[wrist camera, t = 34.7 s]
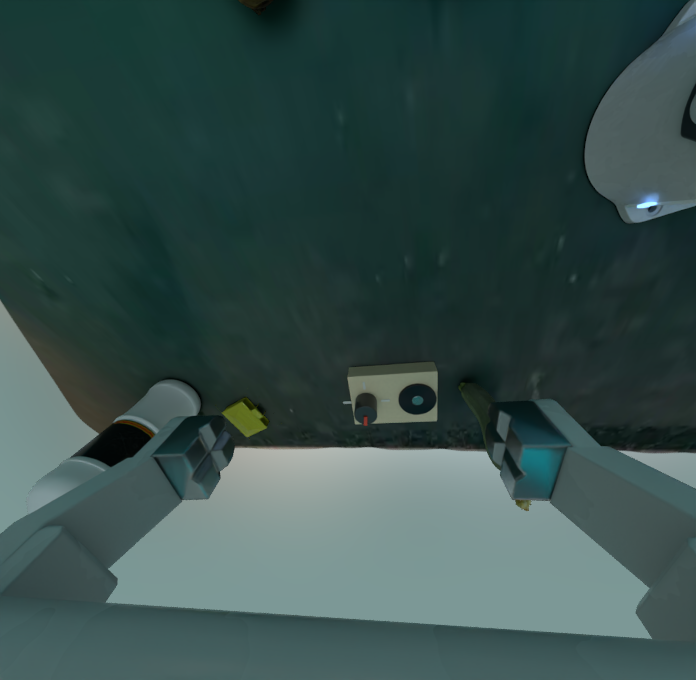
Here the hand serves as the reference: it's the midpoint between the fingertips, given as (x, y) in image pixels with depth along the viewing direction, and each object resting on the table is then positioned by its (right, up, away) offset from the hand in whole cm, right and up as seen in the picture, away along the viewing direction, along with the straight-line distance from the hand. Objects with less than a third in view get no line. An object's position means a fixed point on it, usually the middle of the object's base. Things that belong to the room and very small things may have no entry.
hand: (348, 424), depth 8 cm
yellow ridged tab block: (-19, -12, +43) cm, 48 cm away
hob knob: (+3, -8, +35) cm, 36 cm away
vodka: (-33, -8, +42) cm, 54 cm away
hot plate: (+8, -6, +37) cm, 38 cm away
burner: (+11, -7, +34) cm, 36 cm away
